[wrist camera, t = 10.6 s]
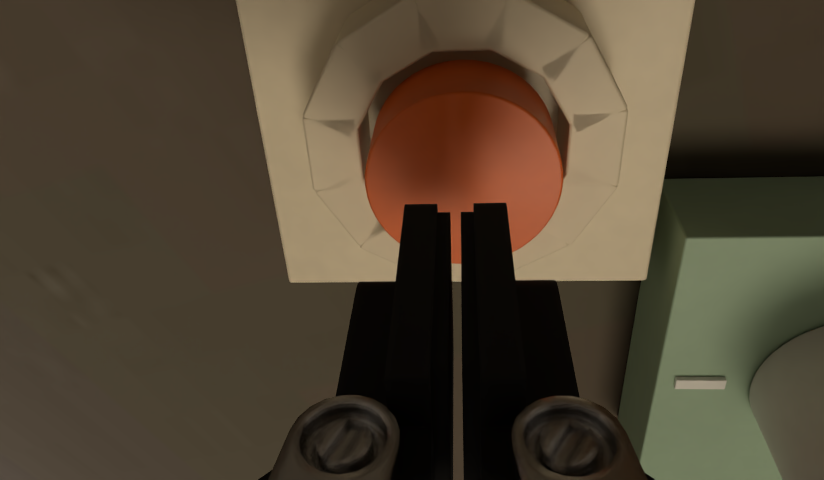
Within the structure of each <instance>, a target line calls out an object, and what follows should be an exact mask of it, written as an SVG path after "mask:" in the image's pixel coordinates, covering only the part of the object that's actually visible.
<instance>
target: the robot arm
mask: <svg viewBox="0 0 824 480" xmlns="http://www.w3.org/2000/svg"><path fill="white" fill-rule="evenodd" d="M461 287H462V382H463V451H464V480H655V479H654V478H652V477H651V476H649V475H648V474H646V473H645V472H644V470H643V468H642V466H641V464H640V461H639V459H638V457H637V455H636V452H635V450H634V448H633V446H632V444H631V441H630V439H629V437H628V435H627V432H626V431H625V429H624V428H623V426H622V425H621V423H620V422H619V420H618V419H617V418H616V417H615V416H614V415H612V414H611V413H610V412H609V411H608V410H607V409H605V408H604V407H602V406H600V405H598V404H596V403H594V402H592V401H590V400H587V399H583V398H579V393H578V388H577V383H576V378H575V372H574V367H573V362H572V357H571V352H570V347H569V342H568V336H567V331H566V326H565V321H564V316H563V311H562V306H561V300H560V295H559V290H558V286H557V282H556V281H555V280H515V272H514V263H513V255H512V246H511V237H510V228H509V220H508V211H507V204H506V203H474V204H473V212H461ZM258 480H453V303H452V261H451V219H450V212H438V205H437V204H405V206H404V213H403V222H402V230H401V239H400V247H399V256H398V264H397V273H396V281H376V282H359V283H358V285H357V288H356V293H355V298H354V304H353V309H352V314H351V319H350V325H349V330H348V335H347V340H346V346H345V351H344V356H343V361H342V367H341V372H340V377H339V382H338V388H337V393H336V397H332V398H328V399H324V400H322V401H320V402H318V403H316V404H314V405H312V406H310V407H309V408H308V409H307V410H306V411H305V412H303V413H302V414H301V415H300V416H299V417H298V418H297V420H296V421H295V423H294V424H293V426H292V427H291V429H290V431H289V433H288V435H287V438H286V440H285V442H284V444H283V447H282V449H281V451H280V454H279V456H278V458H277V460H276V463H275V465H274V467H273V470H271V471H270V472H269V473H267V474H266V475H264V476H263V477H261V478H260V479H258Z"/></svg>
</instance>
